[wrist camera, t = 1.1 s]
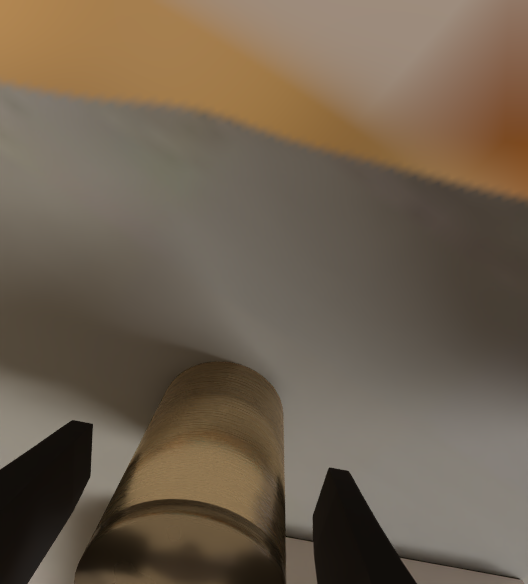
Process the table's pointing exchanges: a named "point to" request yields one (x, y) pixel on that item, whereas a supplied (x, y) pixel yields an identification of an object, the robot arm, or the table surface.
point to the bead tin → (200, 489)
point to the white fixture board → (429, 577)
